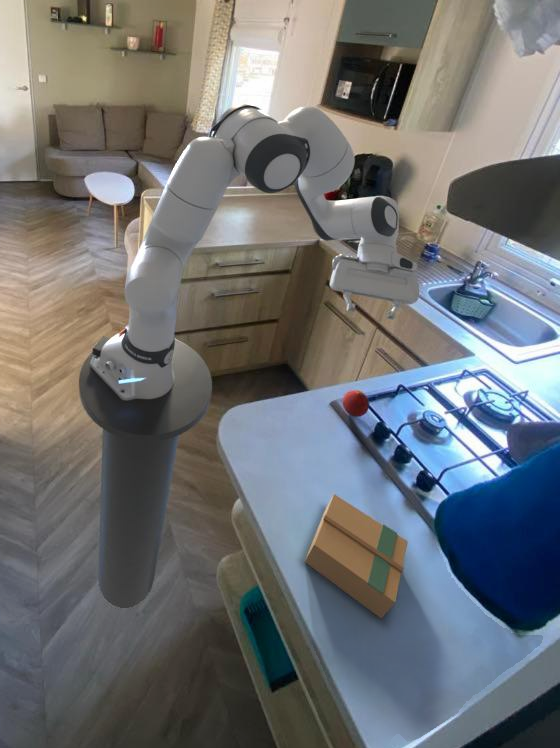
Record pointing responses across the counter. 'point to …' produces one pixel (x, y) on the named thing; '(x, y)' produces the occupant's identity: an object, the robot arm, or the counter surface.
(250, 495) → the counter surface
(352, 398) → the red round fruit
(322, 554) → the brown cardboard box
